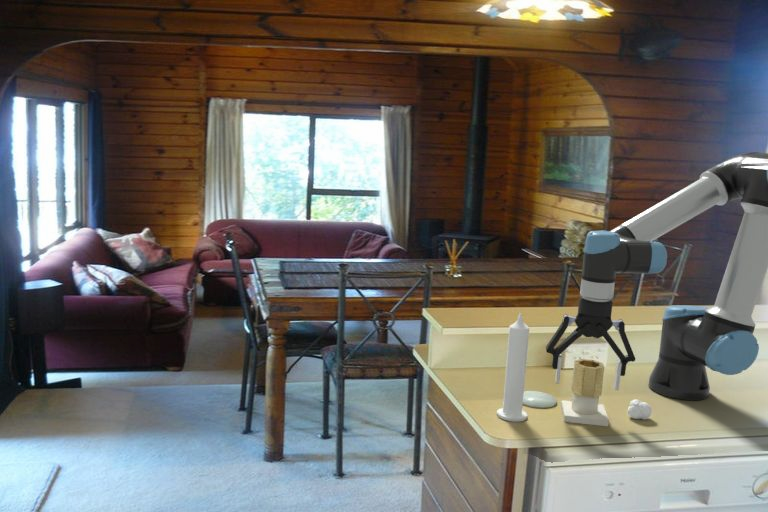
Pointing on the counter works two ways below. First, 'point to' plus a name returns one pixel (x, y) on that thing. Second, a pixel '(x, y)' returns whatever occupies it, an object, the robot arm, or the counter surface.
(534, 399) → the coaster
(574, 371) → the brass hex nut
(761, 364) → the counter surface
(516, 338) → the candle
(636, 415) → the microfossil shell
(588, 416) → the stand
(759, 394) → the counter surface
